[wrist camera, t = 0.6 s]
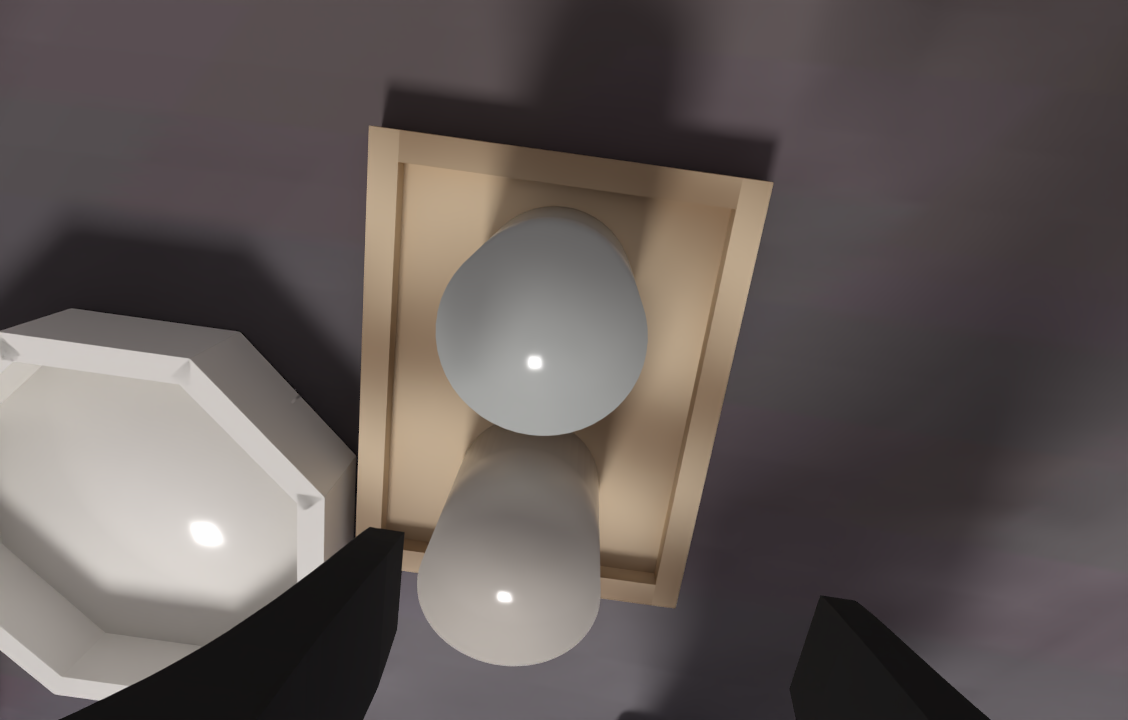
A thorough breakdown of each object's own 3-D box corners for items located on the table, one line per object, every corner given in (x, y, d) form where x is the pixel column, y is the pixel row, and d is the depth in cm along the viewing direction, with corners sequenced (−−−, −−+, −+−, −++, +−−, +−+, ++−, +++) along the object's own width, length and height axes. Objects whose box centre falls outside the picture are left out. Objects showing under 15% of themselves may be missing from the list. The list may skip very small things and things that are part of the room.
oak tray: (671, 588, 22) (675, 608, 21) (364, 546, 22) (354, 564, 21) (763, 180, 18) (773, 182, 17) (381, 126, 18) (368, 125, 17)
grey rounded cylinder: (587, 548, 21) (586, 677, 16) (455, 530, 21) (412, 652, 16) (608, 427, 20) (614, 526, 15) (466, 408, 20) (422, 500, 15)
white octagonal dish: (349, 670, 24) (321, 731, 21) (10, 623, 24) (-57, 679, 21) (359, 348, 20) (326, 377, 17) (-49, 291, 20) (-140, 312, 17)
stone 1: (618, 367, 19) (629, 448, 14) (472, 346, 19) (429, 421, 14) (644, 217, 18) (665, 248, 13) (486, 195, 18) (443, 217, 13)
